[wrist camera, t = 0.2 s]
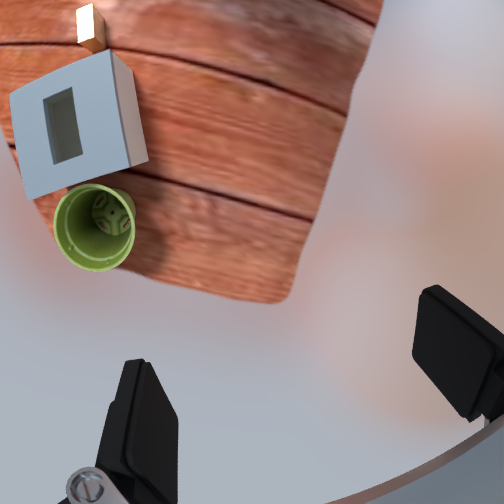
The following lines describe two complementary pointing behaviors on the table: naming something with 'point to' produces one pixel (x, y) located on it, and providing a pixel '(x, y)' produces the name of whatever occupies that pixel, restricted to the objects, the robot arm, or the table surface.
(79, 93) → the grey slotted box
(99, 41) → the block
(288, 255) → the table surface
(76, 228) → the plant pot
